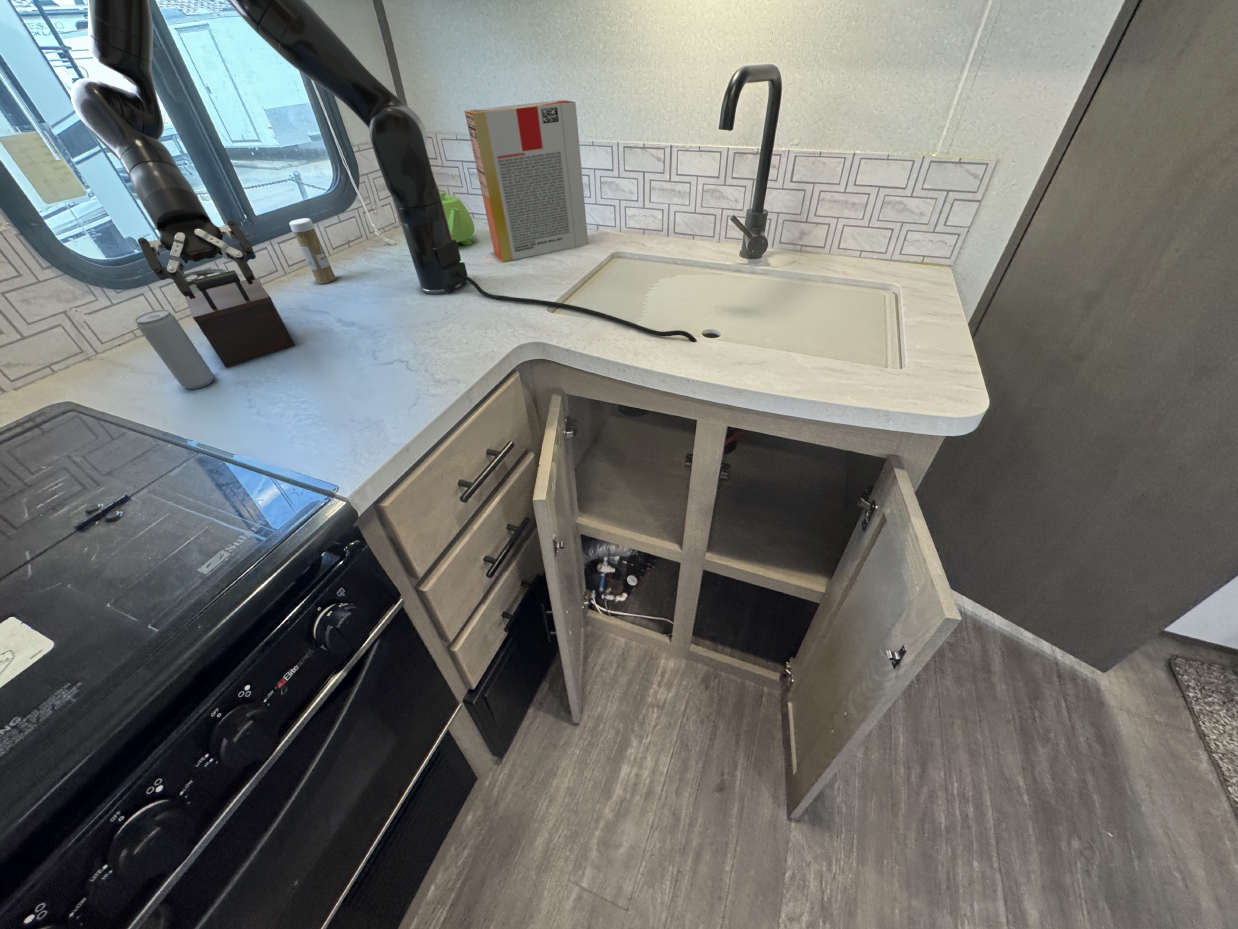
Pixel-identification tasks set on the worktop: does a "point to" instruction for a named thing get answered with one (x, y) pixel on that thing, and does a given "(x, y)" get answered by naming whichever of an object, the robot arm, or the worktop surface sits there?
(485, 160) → the pasta box
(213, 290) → the lid
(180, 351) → the beverage can
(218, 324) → the chest
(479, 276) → the worktop surface
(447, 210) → the teapot
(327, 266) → the sprinkles bottle
